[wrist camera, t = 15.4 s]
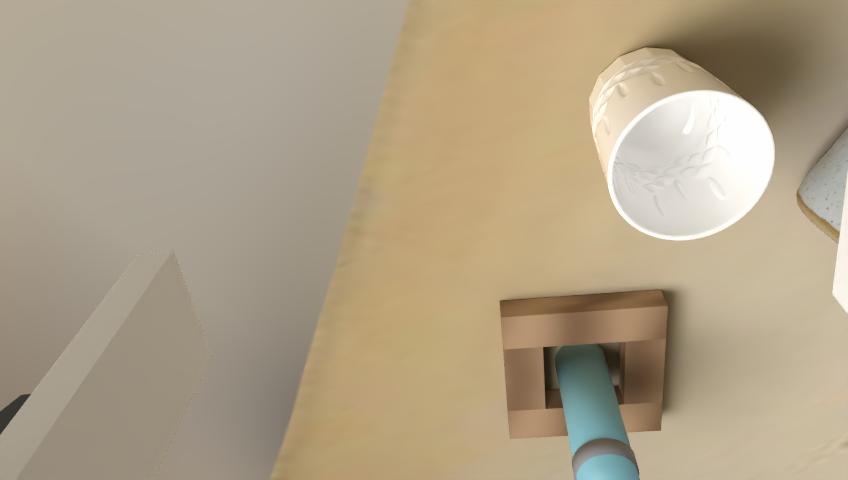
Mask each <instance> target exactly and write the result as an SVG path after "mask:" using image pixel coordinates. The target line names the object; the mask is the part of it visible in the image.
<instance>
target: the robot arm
mask: <svg viewBox="0 0 848 480" xmlns="http://www.w3.org/2000/svg"><path fill="white" fill-rule="evenodd" d="M832 294H833V295H834V297H835V298H836V299H837V301H838V302H839V303H840V304H841V306H842V307H843V308H844V310H845V311H846V312H847V313H848V173H847V181H846V189H845V197H844V205H843V213H842V221H841V229H840V237H839V245H838V253H837V260H836V268H835V276H834V284H833V292H832ZM211 358H212V354H211V351H210V348H209V345H208V343H207V340H206V337H205V335H204V332H203V329H202V327H201V324H200V321H199V318H198V316H197V313H196V310H195V307H194V305H193V302H192V299H191V296H190V294H189V291H188V288H187V285H186V283H185V280H184V277H183V275H182V272H181V269H180V266H179V264H178V261H177V258H176V256H175V253H174V250H164V251H155V252H147V253H138V254H137V256H136V257H135V258H134V259H133V261H132V262H131V263H130V265H129V266H128V267H127V269H126V270H125V271H124V273H123V274H122V275H121V277H120V278H119V279H118V281H117V282H116V283H115V285H114V286H113V287H112V288H111V290H110V291H109V292H108V294H107V295H106V296H105V298H104V299H103V300H102V302H101V303H100V304H99V306H98V307H97V308H96V309H95V311H94V312H93V313H92V315H91V316H90V317H89V319H88V320H87V321H86V323H85V324H84V325H83V327H82V328H81V329H80V331H79V332H78V333H77V334H76V336H75V337H74V339H73V340H72V341H71V342H70V344H69V345H68V346H67V348H66V349H65V350H64V352H63V353H62V354H61V356H60V357H59V358H58V360H57V361H56V362H55V363H54V365H53V366H52V367H51V369H50V370H49V371H48V373H47V374H46V375H45V377H44V378H43V379H42V381H41V382H40V383H39V384H38V386H37V387H36V388H35V390H34V391H33V392H32V394H27V395H21V396H19V397H18V398H17V399H16V400H14V401H13V402H12V403H10V404H9V405H8V406H7V407H5V408H4V409H3V410H2V411H0V480H154V478H155V476H156V474H157V472H158V470H159V467H160V465H161V463H162V461H163V459H164V457H165V455H166V453H167V451H168V449H169V446H170V444H171V442H172V440H173V438H174V436H175V434H176V432H177V430H178V427H179V425H180V423H181V421H182V419H183V417H184V415H185V413H186V411H187V408H188V406H189V404H190V402H191V400H192V398H193V396H194V394H195V392H196V389H197V387H198V385H199V383H200V381H201V379H202V377H203V375H204V373H205V370H206V368H207V366H208V364H209V362H210V360H211Z"/></svg>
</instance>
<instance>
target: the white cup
mask: <svg viewBox="0 0 848 480" xmlns="http://www.w3.org/2000/svg"><path fill="white" fill-rule="evenodd" d="M589 107H590V123H591V127H592V130H593V136H594V141H595V145H596V149H597V153H598V156H599V160H600V163H601V166H602V169H603V172H604V175H605V179H606V182H607V185H608V188H609V192H610V195H611V198H612V201H613V203H614V205H615V207H616V208H617V210H618V211H619V213H620V214H621V215H622V217H623V218H624V219H625V220H626V221H627V222H628V223H630V224H631V225H632V226H633V227H635V228H636V229H638V230H640V231H641V232H643V233H646V234H648V235H651V236H654V237H657V238H661V239H667V240H691V239H697V238H701V237H705V236H708V235H711V234H714V233H717V232H719V231H721V230H723V229H725V228H727V227H729V226H730V225H732V224H734V223H735V222H737V221H738V220H739V219H741V218H742V217H743V216H744V215H745V214H746V213H748V212H749V211H750V210H751V209H752V208H753V206H754V205H755V204H756V203H757V202H758V200H759V199H760V198H761V196H762V195H763V193H764V191H765V190H766V188H767V186H768V184H769V181H770V179H771V176H772V173H773V169H774V163H775V144H774V139H773V135H772V132H771V129H770V127H769V125H768V123H767V122H766V120H765V118H764V117H763V116H762V115H761V113H760V112H759V111H758V110H757V109H756V108H755V107H754V106H752V105H751V104H750V103H748V102H747V101H746V100H745V99H743V98H742V97H741V96H739V95H738V94H737V93H736V92H734V91H733V90H732V89H731V88H729V87H728V86H727V85H725V84H724V83H723V82H722V81H720V80H719V79H718V78H716V77H715V76H713V75H712V74H710V73H709V72H708V71H706V70H704V69H703V68H702V67H700V66H699V65H697V64H695V63H693V62H690V61H689V60H687V59H686V58H684V57H682V56H681V55H679V54H678V53H676V52H674V51H673V50H671V49H660V48H647V47H644V48H641V49H639V50H636V51H633V52H631V53H628V54H625V55H622V56H620V57H618V58H617V59H616V60H615V61H614V62H613V63H612V64H611V65H610V66H609V67H608V68H606V69H605V70H604V71H603V72H602V73H601V74H600V75H599V77H598V79H597V82H596V84H595V86H594V89H593V91H592V93H591V96H590V98H589Z"/></svg>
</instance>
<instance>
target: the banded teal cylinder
mask: <svg viewBox="0 0 848 480" xmlns="http://www.w3.org/2000/svg"><path fill="white" fill-rule="evenodd" d="M555 366H556V372H557V377H558V382H559V388H560V393H561V399H562V404H563V409H564V415H565V420H566V426H567V431H568V436H569V442H570V447H571V453H572V458H573V459H572V467H573V472H574V478H575V480H640V479H639V469H638V466H637V462H636V459H635V455H634V452H633V450H632V449H631V447H630V444H629V440H628V436H627V433H626V429H625V426H624V422H623V419H622V415H621V412H620V408H619V405H618V401H617V397H616V394H615V390H614V387H613V383H612V380H611V376H610V373H609V369H608V365H607V362H606V358H605V355H604V352H603V350H602V348H601V347H600V346H599V345H597V344H581V345H566V346H562V347H561V348H560V349H559V350H558V352H557V354H556V356H555Z"/></svg>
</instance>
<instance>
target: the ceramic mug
mask: <svg viewBox="0 0 848 480" xmlns="http://www.w3.org/2000/svg"><path fill="white" fill-rule="evenodd" d="M847 173H848V128H847V129H846V131H845V132H844V133H843V134H842V135H841V136H840V137H839V139H838V140H837V141H836V142H835V143H834V144H833V146H832V147H831V148H830V149H829V150H828V152H827V153H826V154H825V155H824V156H823V157H822V158H821V159H820V160H819V161H818V162H817V163H816V165H815V166H814V167H813V168H812V169H811V170H810V171H809V173H808V174H807V176H806V177H805V179H804V180H803V182H802V184H801V185H800V187H799V189H798V191H797V202H798V206H799V207H800V209H801V210H802V212H803V213H804V214H805V215H806V216H807V218H808V219H809V220H810V221H811V222H812V223H814V224H815V225H816V226H817V227H818V228H819V229H820V230H821V231H822V232H824V233H825V234H826V235H827V236H829V237H830V238H831V239H832V240H834V241H835V242H836V243H838V244H839V237H840V229H841V221H842V213H843V205H844V197H845V189H846V181H847Z"/></svg>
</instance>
